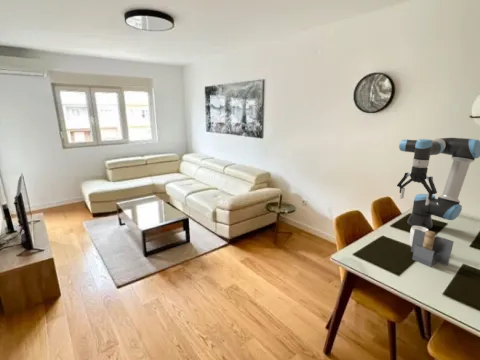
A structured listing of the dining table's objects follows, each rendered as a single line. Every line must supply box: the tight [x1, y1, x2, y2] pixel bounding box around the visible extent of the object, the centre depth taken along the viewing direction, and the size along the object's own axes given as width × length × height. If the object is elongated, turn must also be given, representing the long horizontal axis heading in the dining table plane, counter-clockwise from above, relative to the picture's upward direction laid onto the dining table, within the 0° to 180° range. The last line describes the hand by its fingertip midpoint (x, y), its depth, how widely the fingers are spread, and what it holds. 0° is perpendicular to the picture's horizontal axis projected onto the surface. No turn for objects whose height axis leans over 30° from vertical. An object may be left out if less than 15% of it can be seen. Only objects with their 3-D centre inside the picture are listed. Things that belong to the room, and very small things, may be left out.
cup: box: [409, 226, 430, 248], centre depth 158 cm, size 9×9×12 cm
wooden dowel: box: [423, 230, 436, 250], centre depth 142 cm, size 4×4×14 cm
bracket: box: [410, 229, 455, 268], centre depth 143 cm, size 10×18×14 cm, turn 34°
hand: (413, 201), depth 155 cm, fingers open, 13 cm apart
